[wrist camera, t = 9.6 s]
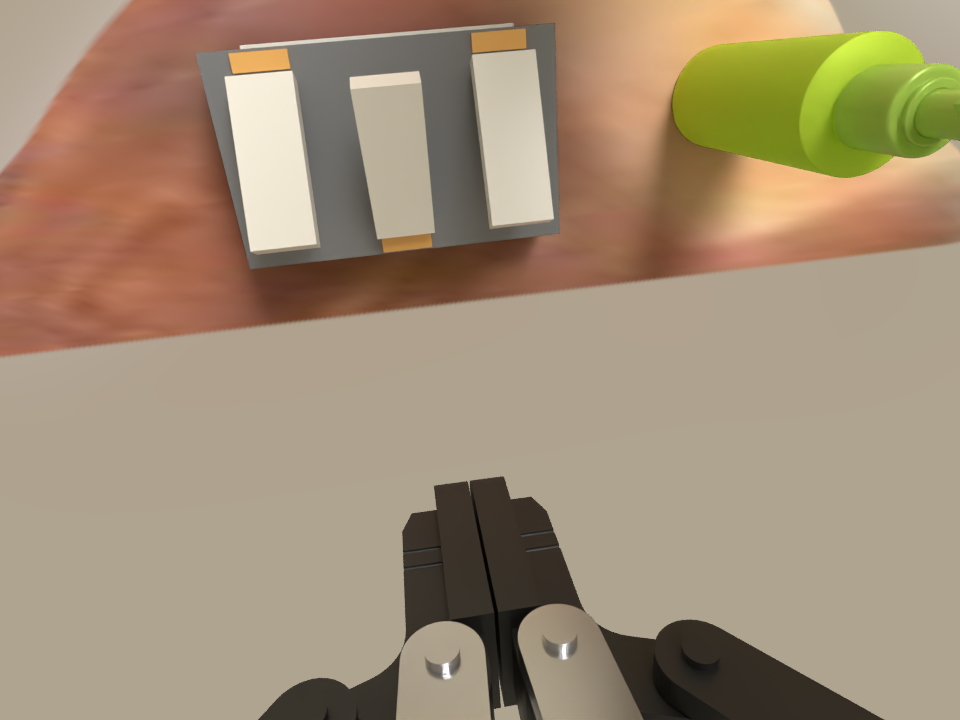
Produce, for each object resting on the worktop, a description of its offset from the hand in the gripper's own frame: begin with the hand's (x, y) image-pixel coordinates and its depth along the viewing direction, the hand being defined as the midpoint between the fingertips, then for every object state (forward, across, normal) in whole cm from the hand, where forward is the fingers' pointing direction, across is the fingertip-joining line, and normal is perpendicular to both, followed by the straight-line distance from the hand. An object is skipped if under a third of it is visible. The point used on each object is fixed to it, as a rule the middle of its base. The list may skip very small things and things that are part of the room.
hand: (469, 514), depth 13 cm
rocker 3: (+23, -5, -5) cm, 24 cm away
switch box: (+29, +1, -5) cm, 29 cm away
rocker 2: (+23, +1, -5) cm, 23 cm away
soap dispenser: (+29, -20, -6) cm, 35 cm away
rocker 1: (+23, +7, -5) cm, 24 cm away
